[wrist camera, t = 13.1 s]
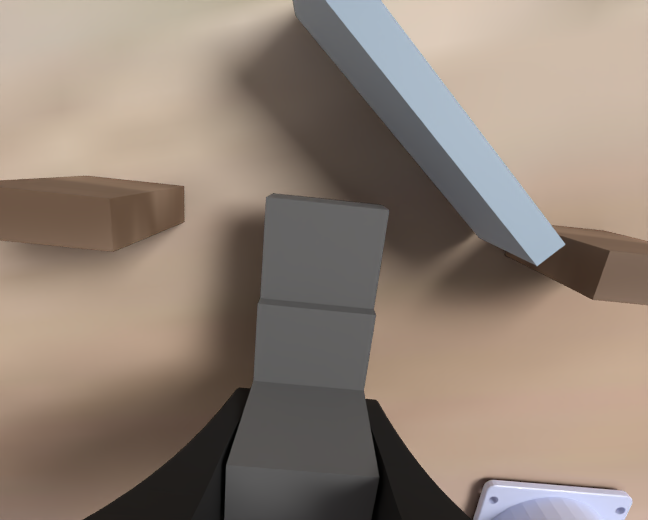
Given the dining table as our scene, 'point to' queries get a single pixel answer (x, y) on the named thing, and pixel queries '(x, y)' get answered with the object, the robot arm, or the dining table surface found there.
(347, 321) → the notched block
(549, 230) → the door leaf
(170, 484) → the robot arm
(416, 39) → the dining table surface
